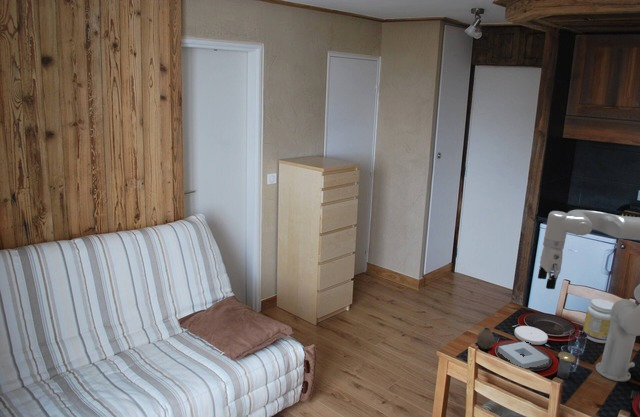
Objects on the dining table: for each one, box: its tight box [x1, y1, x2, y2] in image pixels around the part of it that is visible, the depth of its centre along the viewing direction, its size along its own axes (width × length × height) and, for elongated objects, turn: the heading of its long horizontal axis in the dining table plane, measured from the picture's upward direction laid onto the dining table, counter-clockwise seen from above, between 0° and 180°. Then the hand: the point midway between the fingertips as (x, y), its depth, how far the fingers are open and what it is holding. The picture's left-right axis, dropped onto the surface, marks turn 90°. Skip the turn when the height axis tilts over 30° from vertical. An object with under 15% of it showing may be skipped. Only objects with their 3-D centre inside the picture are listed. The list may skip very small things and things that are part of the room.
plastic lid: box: [514, 325, 549, 346], centre depth 242 cm, size 14×14×2 cm
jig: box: [497, 341, 550, 368], centre depth 223 cm, size 14×14×4 cm
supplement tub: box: [582, 298, 615, 344], centre depth 245 cm, size 12×12×17 cm
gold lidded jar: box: [557, 351, 576, 380], centre depth 213 cm, size 6×6×9 cm
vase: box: [476, 327, 495, 350], centre depth 231 cm, size 7×7×9 cm
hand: (545, 283), depth 213 cm, fingers open, 9 cm apart
